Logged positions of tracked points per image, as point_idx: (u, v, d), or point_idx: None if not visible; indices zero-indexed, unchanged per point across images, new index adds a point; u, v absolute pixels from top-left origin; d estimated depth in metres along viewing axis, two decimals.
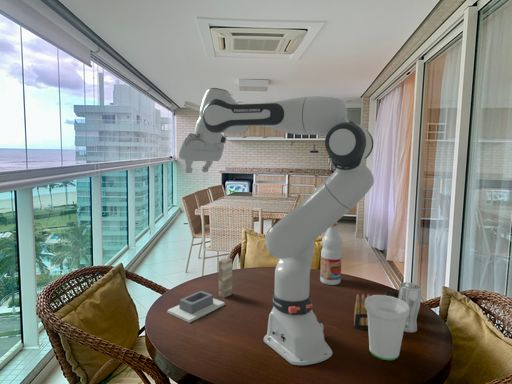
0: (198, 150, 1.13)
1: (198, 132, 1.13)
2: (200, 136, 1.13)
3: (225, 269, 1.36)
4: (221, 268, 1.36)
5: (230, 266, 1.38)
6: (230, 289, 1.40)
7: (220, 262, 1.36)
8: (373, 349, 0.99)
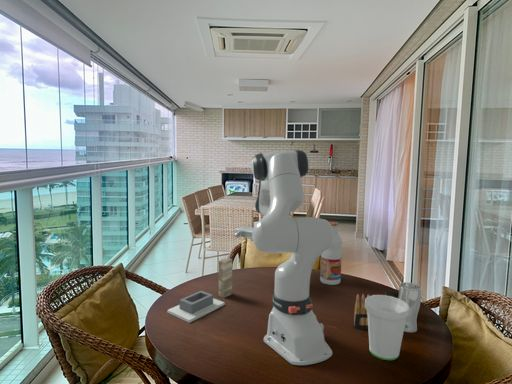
0: (248, 228, 1.56)
1: None
2: None
3: (225, 269, 1.36)
4: (221, 268, 1.36)
5: (230, 266, 1.38)
6: (230, 289, 1.40)
7: (220, 262, 1.36)
8: (373, 349, 0.99)
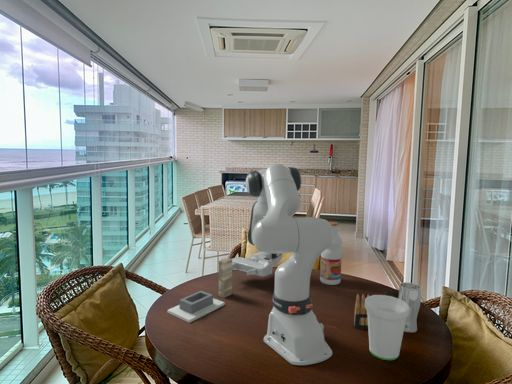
0: (242, 260, 1.54)
1: None
2: None
3: (225, 269, 1.36)
4: (221, 268, 1.36)
5: (230, 266, 1.38)
6: (230, 289, 1.40)
7: (220, 262, 1.36)
8: (373, 349, 0.99)
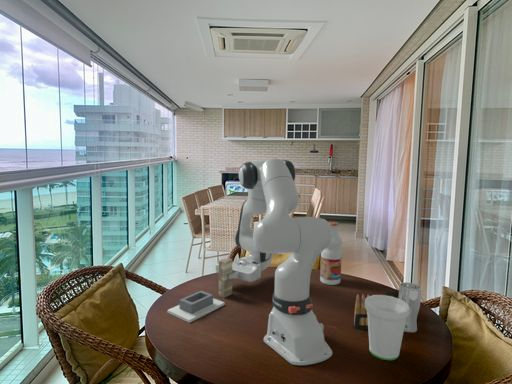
0: None
1: None
2: None
3: (225, 269, 1.36)
4: (221, 268, 1.36)
5: (230, 266, 1.38)
6: (230, 289, 1.40)
7: (220, 262, 1.36)
8: (373, 349, 0.99)
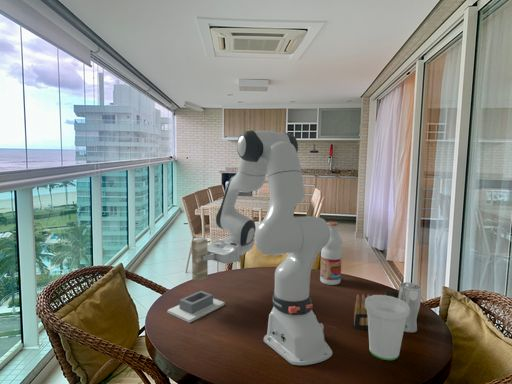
0: None
1: None
2: None
3: (199, 250, 1.23)
4: (194, 249, 1.24)
5: (205, 247, 1.26)
6: (205, 272, 1.27)
7: (193, 242, 1.24)
8: (373, 349, 0.99)
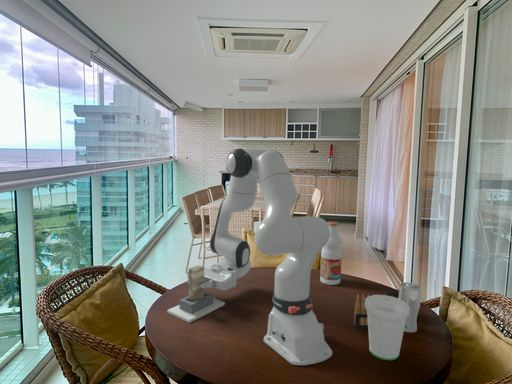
0: None
1: None
2: None
3: (195, 278, 1.23)
4: (191, 277, 1.24)
5: (202, 274, 1.26)
6: None
7: (190, 270, 1.24)
8: (373, 349, 0.99)
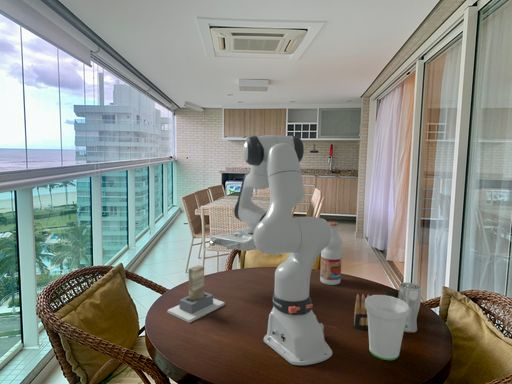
0: (225, 236, 1.43)
1: None
2: None
3: (195, 278, 1.23)
4: (191, 277, 1.24)
5: (202, 274, 1.26)
6: None
7: (190, 270, 1.24)
8: (373, 349, 0.99)
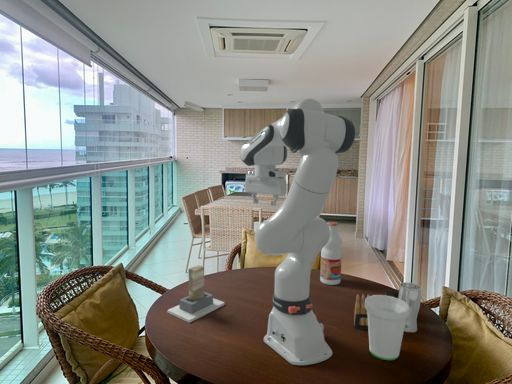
0: (254, 184, 1.45)
1: None
2: None
3: (195, 278, 1.23)
4: (191, 277, 1.24)
5: (202, 274, 1.26)
6: None
7: (190, 270, 1.24)
8: (373, 349, 0.99)
